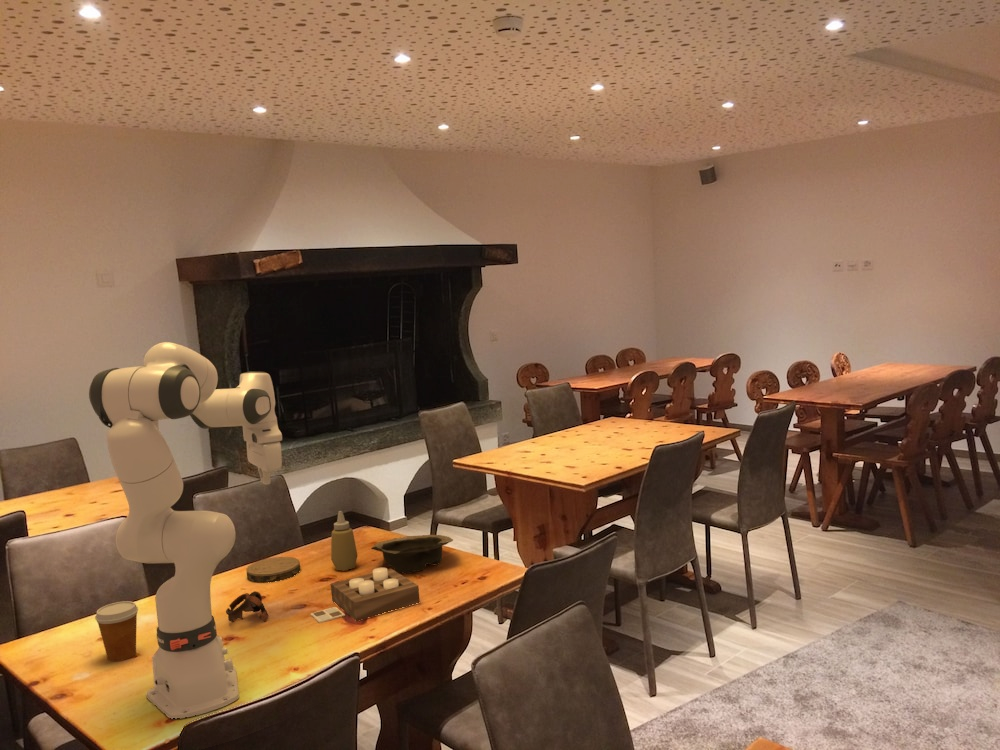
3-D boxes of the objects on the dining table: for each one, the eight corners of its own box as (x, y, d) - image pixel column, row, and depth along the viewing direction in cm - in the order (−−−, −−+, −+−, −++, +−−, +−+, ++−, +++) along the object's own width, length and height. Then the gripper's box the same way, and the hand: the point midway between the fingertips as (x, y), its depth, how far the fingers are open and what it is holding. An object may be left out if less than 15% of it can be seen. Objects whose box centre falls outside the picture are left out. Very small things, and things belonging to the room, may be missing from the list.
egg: (367, 598, 222) (366, 580, 222) (353, 602, 220) (352, 584, 220) (362, 594, 226) (360, 576, 225) (348, 598, 224) (346, 580, 223)
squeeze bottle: (356, 571, 248) (350, 514, 246) (329, 573, 248) (324, 515, 246) (360, 563, 256) (355, 507, 254) (335, 564, 256) (330, 508, 254)
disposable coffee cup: (115, 667, 192) (109, 618, 191) (92, 660, 197) (86, 612, 196) (151, 651, 200) (146, 603, 199) (127, 644, 205) (122, 598, 204)
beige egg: (391, 587, 226) (389, 570, 225) (377, 591, 224) (376, 573, 223) (385, 583, 229) (383, 566, 229) (371, 587, 227) (370, 569, 227)
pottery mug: (266, 628, 211) (246, 605, 208) (237, 643, 212) (217, 621, 210) (277, 599, 222) (259, 577, 219) (250, 614, 224) (231, 593, 221)
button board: (419, 603, 219) (418, 585, 218) (356, 621, 210) (354, 602, 209) (392, 585, 234) (390, 568, 234) (332, 601, 225) (330, 583, 224)
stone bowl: (405, 583, 234) (400, 552, 234) (359, 572, 253) (355, 542, 253) (471, 559, 250) (467, 529, 250) (424, 550, 269) (420, 522, 269)
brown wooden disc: (254, 588, 241) (253, 578, 241) (241, 573, 255) (240, 564, 254) (307, 575, 249) (306, 566, 248) (292, 562, 262) (291, 553, 262)
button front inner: (377, 601, 216) (375, 583, 216) (363, 605, 214) (361, 586, 214) (371, 597, 220) (370, 579, 219) (357, 600, 218) (356, 582, 217)
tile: (345, 615, 214) (344, 614, 214) (319, 623, 210) (319, 621, 210) (335, 608, 220) (335, 606, 220) (310, 614, 216) (310, 613, 216)
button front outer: (402, 599, 220) (400, 581, 219) (388, 603, 218) (386, 584, 217) (395, 595, 223) (394, 577, 223) (382, 598, 221) (380, 580, 221)
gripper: (238, 429, 223) (243, 479, 224) (259, 438, 205) (264, 492, 207) (261, 426, 226) (266, 475, 227) (284, 434, 208) (289, 487, 210)
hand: (266, 483), depth 217 cm, fingers closed
